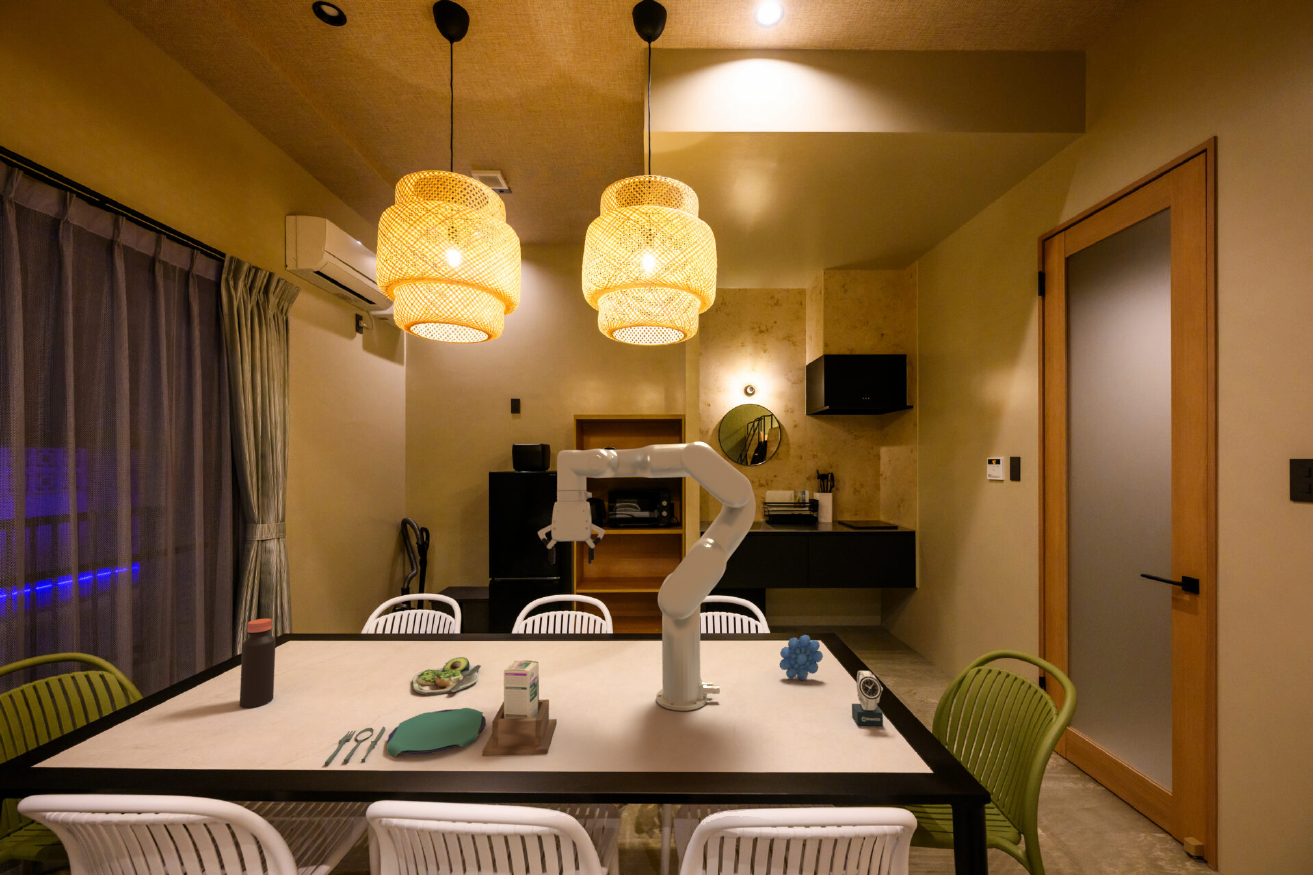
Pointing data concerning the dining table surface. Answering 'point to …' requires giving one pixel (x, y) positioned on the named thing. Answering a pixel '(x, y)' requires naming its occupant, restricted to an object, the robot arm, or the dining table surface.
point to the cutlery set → (425, 733)
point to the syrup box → (521, 690)
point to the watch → (867, 701)
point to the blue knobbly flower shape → (800, 657)
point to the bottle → (257, 665)
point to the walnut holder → (521, 733)
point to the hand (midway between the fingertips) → (571, 563)
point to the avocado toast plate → (447, 677)
